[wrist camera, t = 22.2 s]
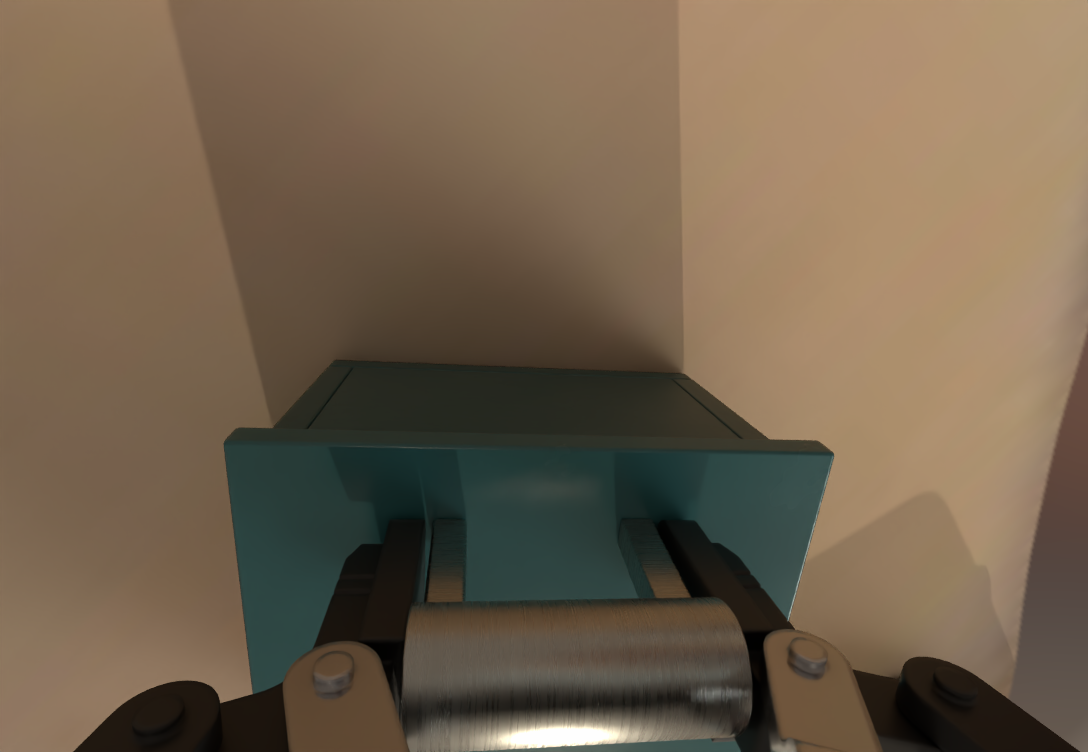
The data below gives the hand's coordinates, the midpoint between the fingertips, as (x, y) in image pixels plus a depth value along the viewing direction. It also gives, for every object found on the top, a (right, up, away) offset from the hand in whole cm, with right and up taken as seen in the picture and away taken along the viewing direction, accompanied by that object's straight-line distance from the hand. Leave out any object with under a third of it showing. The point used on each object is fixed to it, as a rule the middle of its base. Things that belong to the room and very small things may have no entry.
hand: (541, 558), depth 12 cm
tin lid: (0, -5, +3) cm, 6 cm away
